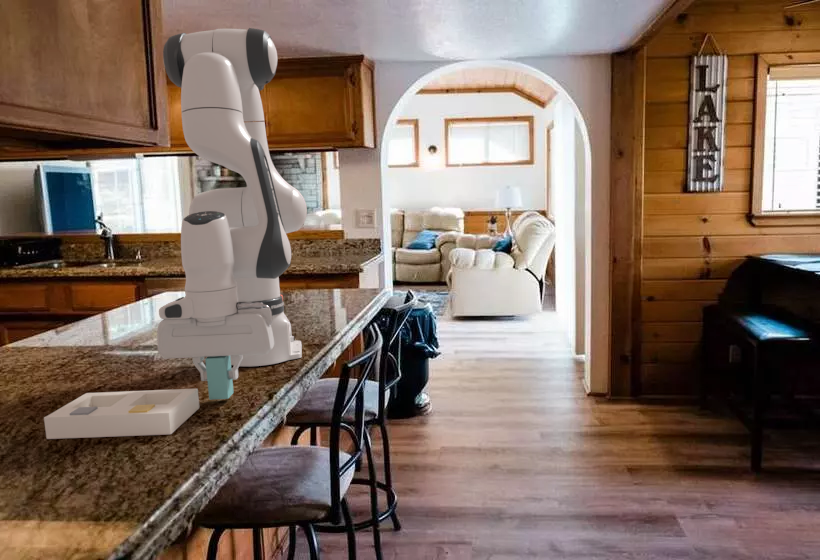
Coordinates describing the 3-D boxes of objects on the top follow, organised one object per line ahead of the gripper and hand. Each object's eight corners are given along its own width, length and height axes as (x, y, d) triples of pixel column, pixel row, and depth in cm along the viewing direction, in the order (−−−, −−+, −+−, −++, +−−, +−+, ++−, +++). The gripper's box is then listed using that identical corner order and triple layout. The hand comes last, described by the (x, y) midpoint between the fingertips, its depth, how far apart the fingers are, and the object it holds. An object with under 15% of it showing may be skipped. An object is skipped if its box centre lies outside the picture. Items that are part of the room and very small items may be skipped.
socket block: (88, 412, 118) (86, 391, 117) (199, 407, 117) (197, 386, 117) (46, 439, 105) (43, 415, 105) (170, 434, 104) (168, 411, 104)
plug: (215, 393, 122) (211, 353, 121) (233, 392, 122) (229, 353, 121) (209, 399, 118) (205, 358, 117) (228, 398, 118) (224, 358, 117)
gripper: (274, 298, 120) (281, 371, 122) (163, 303, 121) (171, 376, 123) (266, 304, 114) (273, 382, 116) (149, 310, 115) (158, 387, 117)
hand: (220, 379), depth 120 cm, fingers closed on plug, 3 cm apart
